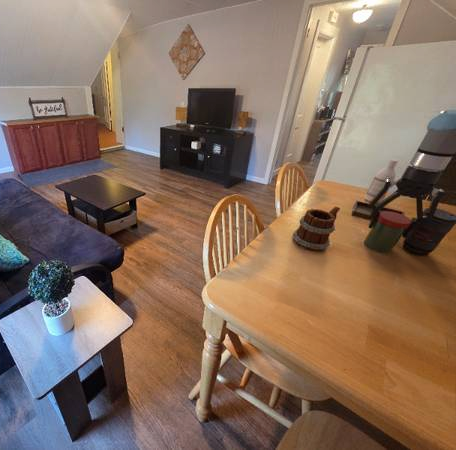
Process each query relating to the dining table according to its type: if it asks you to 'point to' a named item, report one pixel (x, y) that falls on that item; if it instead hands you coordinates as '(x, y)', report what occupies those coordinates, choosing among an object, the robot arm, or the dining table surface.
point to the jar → (383, 237)
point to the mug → (315, 229)
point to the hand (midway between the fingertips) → (386, 231)
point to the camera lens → (429, 233)
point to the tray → (368, 210)
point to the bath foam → (381, 180)
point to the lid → (394, 219)
